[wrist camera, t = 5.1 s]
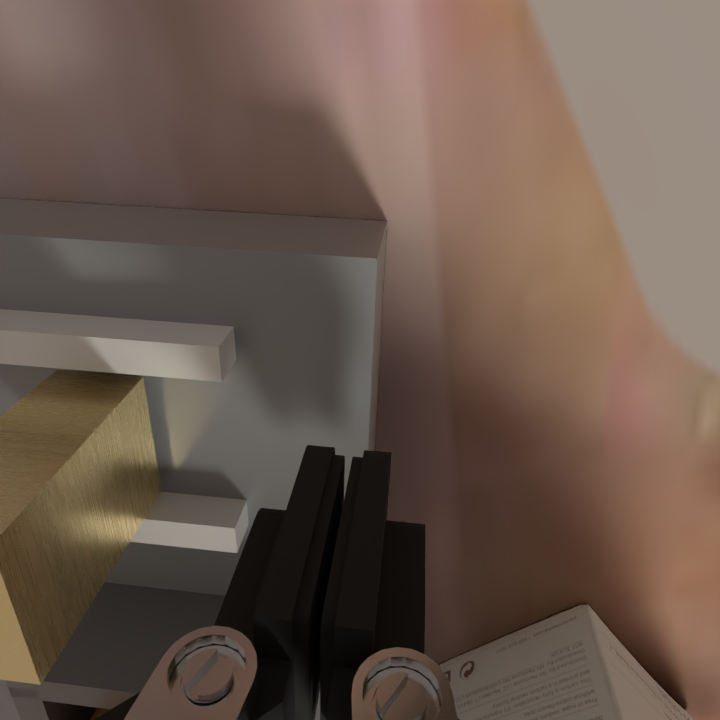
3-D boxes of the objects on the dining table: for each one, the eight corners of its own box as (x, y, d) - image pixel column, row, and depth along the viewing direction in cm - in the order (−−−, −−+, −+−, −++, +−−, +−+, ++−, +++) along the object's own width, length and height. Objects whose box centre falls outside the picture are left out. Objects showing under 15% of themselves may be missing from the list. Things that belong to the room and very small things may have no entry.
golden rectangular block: (143, 376, 13) (-9, 545, 8) (161, 490, 14) (41, 684, 10) (56, 369, 13) (-138, 531, 8) (83, 482, 14) (-71, 670, 10)
